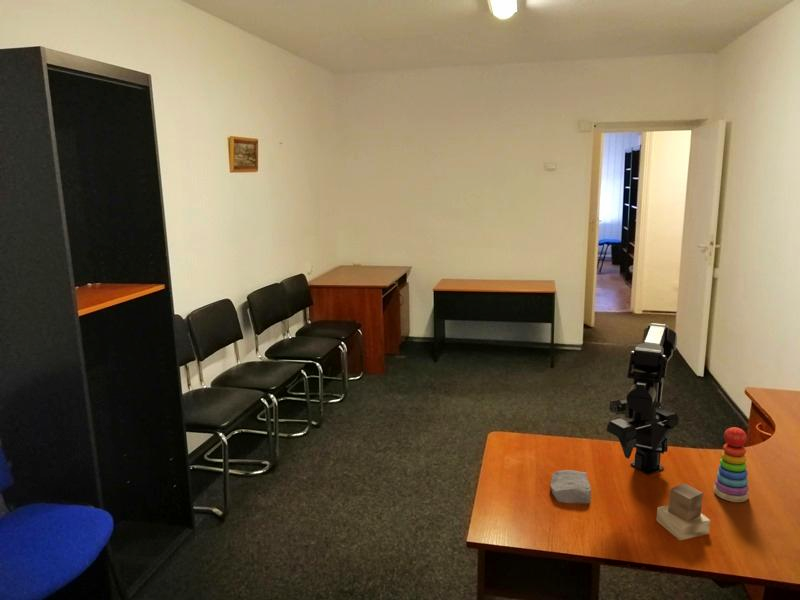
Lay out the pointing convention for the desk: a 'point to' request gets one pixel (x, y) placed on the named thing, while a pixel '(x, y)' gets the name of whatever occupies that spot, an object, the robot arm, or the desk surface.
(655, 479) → the desk surface
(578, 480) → the stone block
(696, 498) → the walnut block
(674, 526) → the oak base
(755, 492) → the desk surface
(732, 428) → the stacking toy
